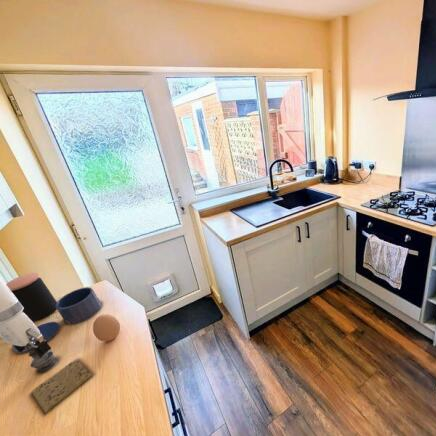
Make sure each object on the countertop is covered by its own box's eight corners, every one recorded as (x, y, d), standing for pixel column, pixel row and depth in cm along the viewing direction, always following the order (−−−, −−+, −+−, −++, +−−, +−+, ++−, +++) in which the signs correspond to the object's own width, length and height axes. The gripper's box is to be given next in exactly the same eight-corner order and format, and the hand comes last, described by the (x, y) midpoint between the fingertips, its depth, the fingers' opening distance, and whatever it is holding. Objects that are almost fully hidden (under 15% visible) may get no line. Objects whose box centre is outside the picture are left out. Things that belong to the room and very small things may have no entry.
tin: (58, 322, 103) (47, 307, 99) (87, 300, 113) (78, 286, 110) (80, 326, 99) (70, 310, 96) (108, 303, 110) (99, 288, 107)
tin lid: (5, 351, 92) (-6, 339, 89) (45, 322, 104) (37, 311, 101) (30, 356, 88) (20, 345, 86) (68, 326, 100) (61, 315, 97)
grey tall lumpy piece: (31, 372, 82) (10, 348, 77) (50, 356, 87) (32, 332, 82) (44, 375, 81) (23, 351, 76) (62, 358, 86) (44, 335, 81)
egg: (125, 337, 91) (113, 316, 87) (101, 350, 87) (87, 329, 83) (122, 325, 97) (111, 305, 92) (99, 337, 93) (86, 316, 88)
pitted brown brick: (31, 393, 76) (29, 391, 75) (77, 359, 85) (75, 358, 84) (44, 414, 70) (43, 412, 69) (92, 375, 79) (91, 373, 78)
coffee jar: (54, 301, 116) (33, 270, 108) (63, 308, 110) (41, 276, 103) (24, 317, 108) (-1, 285, 100) (32, 325, 102) (6, 292, 95)
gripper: (-31, 318, 73) (4, 356, 80) (7, 325, 68) (40, 365, 75) (1, 300, 79) (30, 337, 86) (38, 305, 75) (66, 344, 82)
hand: (35, 350), depth 81 cm, fingers open, 9 cm apart
